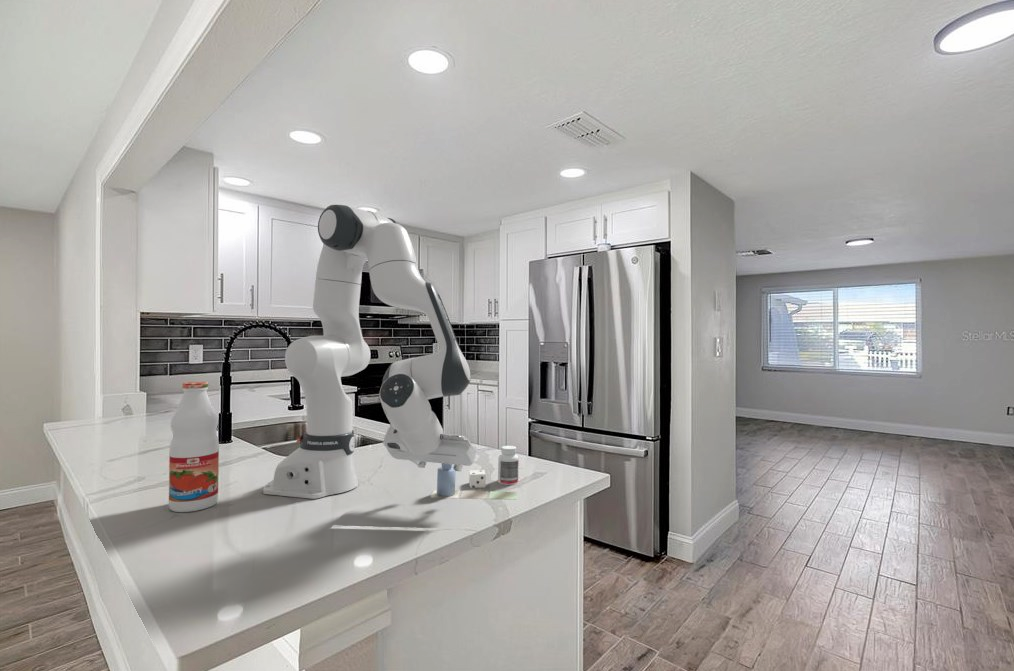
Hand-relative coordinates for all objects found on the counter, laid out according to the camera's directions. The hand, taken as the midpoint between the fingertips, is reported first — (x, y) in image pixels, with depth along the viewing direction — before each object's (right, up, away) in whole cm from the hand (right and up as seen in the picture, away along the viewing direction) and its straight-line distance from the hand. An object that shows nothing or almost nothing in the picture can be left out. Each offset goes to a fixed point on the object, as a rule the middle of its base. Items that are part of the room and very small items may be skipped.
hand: (440, 466), depth 113 cm
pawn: (+1, -7, +3) cm, 8 cm away
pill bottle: (+16, -9, +14) cm, 23 cm away
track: (+8, -8, +3) cm, 12 cm away
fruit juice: (-55, -8, -5) cm, 56 cm away
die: (+8, -8, +11) cm, 16 cm away
